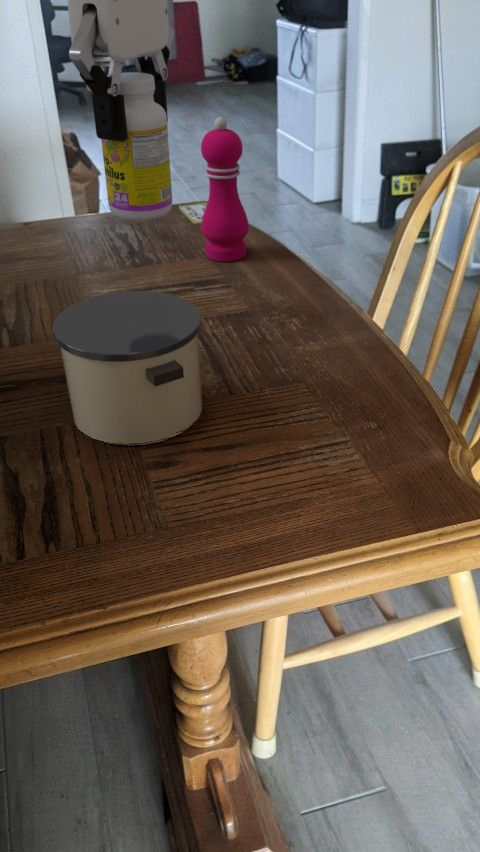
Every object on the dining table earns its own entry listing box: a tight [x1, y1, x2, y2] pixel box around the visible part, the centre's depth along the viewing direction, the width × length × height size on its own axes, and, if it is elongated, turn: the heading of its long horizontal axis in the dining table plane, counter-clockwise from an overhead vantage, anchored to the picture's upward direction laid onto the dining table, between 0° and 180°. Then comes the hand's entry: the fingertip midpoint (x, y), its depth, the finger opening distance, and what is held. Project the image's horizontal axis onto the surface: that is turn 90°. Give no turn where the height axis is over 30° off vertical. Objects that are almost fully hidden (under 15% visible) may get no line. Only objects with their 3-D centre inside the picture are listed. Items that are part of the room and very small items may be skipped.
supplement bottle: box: [100, 71, 173, 221], centre depth 78 cm, size 7×7×13 cm
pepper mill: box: [200, 116, 249, 263], centre depth 116 cm, size 7×7×20 cm
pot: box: [52, 290, 203, 444], centre depth 82 cm, size 15×17×11 cm
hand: (133, 129), depth 77 cm, fingers closed on supplement bottle, 6 cm apart
